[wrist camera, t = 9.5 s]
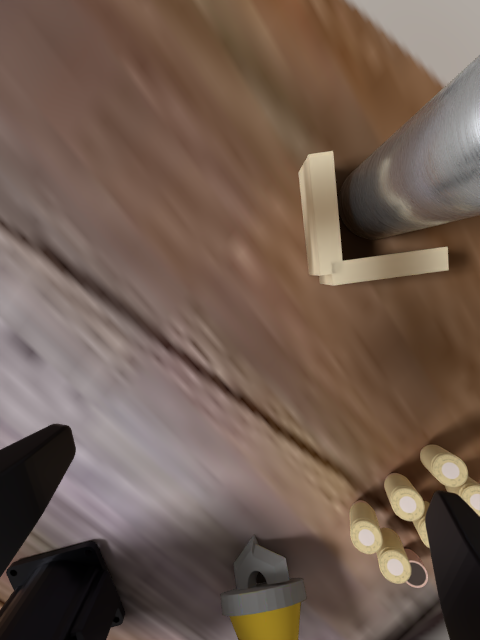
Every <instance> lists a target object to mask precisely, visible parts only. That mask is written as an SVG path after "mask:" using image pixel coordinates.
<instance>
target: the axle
mask: <svg viewBox="0 0 480 640" xmlns="http://www.w3.org/2000/svg"><path fill="white" fill-rule="evenodd" d="M338 209H339V214H340V217H341V219H342V221H343V223H344V224H345V226H346V227H347V228H348V229H349V230H350V231H351V232H352V233H354V234H355V235H357V236H359V237H362V238H365V239H381V238H385V237H390V236H394V235H398V234H402V233H407V232H411V231H415V230H419V229H424V228H428V227H432V226H436V225H441V224H445V223H449V222H453V221H457V220H462V219H466V218H470V217H474V216H479V215H480V55H479V56H478V57H477V58H476V59H475V60H474V61H473V62H472V63H471V64H470V65H468V66H467V67H466V68H465V69H464V70H463V71H462V72H461V73H460V74H459V75H457V76H456V78H454V79H453V80H452V81H451V82H450V83H449V84H448V85H447V86H445V87H444V88H443V89H442V90H441V91H440V92H439V93H438V94H437V95H436V96H435V97H433V98H432V99H431V100H430V101H429V102H428V103H427V104H426V105H425V106H424V107H423V108H421V109H420V110H419V111H418V112H417V113H416V114H415V115H414V116H413V117H412V118H410V119H409V120H408V121H407V122H406V123H405V124H404V125H403V126H402V127H401V128H400V129H398V130H397V131H396V132H395V133H394V134H393V135H392V136H391V137H390V138H389V139H388V140H386V141H385V142H384V143H383V144H382V145H381V146H380V147H379V148H378V149H377V150H376V151H374V152H373V153H372V154H371V155H370V156H369V157H368V158H367V159H366V160H365V161H364V162H362V163H361V164H360V165H359V166H358V167H357V168H356V169H355V170H354V171H353V172H352V173H351V174H350V175H349V176H348V177H347V178H346V179H345V181H344V183H343V185H342V187H341V189H340V192H339V197H338Z"/></svg>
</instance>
